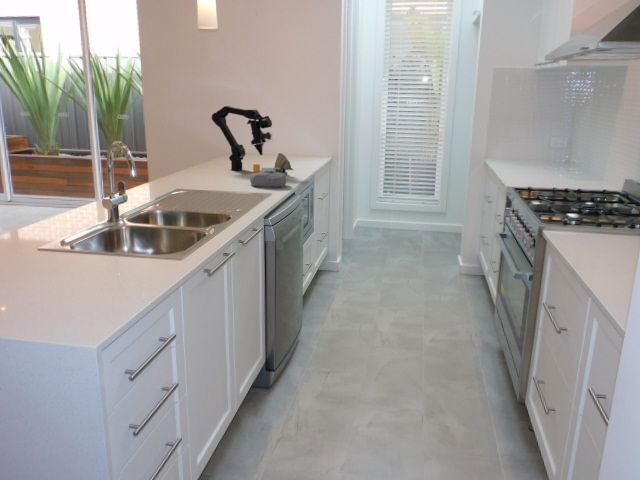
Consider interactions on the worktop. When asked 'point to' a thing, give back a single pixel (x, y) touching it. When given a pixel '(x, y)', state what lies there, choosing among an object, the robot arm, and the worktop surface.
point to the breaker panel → (274, 170)
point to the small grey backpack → (268, 179)
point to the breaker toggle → (284, 165)
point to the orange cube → (256, 167)
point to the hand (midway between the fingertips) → (261, 155)
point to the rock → (281, 161)
